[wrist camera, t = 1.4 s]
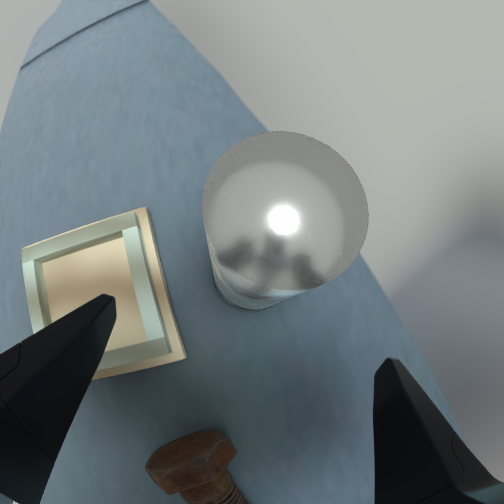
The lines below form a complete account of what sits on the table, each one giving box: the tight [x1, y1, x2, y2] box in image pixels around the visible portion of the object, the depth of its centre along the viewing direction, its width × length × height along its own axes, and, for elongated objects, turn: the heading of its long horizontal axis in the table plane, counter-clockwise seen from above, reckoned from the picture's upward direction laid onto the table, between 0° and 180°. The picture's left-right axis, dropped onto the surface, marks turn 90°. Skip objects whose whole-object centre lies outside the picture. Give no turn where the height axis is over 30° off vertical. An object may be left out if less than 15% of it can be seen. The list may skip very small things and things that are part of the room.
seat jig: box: [21, 206, 187, 380], centre depth 18 cm, size 10×10×2 cm
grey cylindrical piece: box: [202, 131, 369, 312], centre depth 15 cm, size 5×5×12 cm
